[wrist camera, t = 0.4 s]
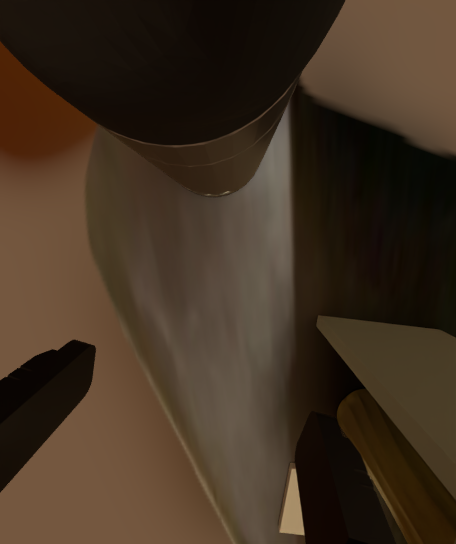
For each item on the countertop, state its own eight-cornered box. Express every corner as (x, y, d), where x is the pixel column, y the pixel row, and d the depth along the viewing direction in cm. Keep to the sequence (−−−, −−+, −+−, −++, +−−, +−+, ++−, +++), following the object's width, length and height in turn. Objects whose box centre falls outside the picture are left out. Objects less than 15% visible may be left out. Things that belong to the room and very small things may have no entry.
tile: (290, 462, 31) (291, 468, 30) (367, 471, 31) (370, 477, 30) (278, 524, 32) (279, 532, 32) (351, 533, 32) (354, 540, 32)
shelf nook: (318, 315, 27) (517, 532, 8) (440, 329, 27) (921, 579, 8) (295, 432, 30) (407, 806, 11) (407, 445, 30) (715, 840, 11)
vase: (401, 397, 29) (559, 562, 15) (377, 443, 30) (504, 636, 16) (349, 380, 29) (461, 531, 15) (327, 427, 30) (411, 609, 16)
